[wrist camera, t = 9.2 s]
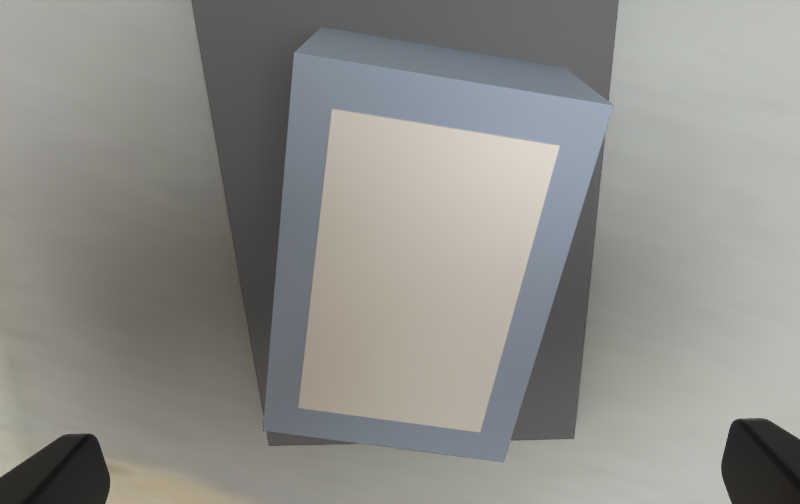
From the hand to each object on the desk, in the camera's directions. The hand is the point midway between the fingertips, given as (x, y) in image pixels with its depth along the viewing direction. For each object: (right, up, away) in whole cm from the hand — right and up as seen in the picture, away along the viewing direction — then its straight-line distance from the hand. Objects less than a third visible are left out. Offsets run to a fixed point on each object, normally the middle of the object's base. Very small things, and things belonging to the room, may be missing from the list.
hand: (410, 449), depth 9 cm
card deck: (0, +4, +8) cm, 9 cm away
